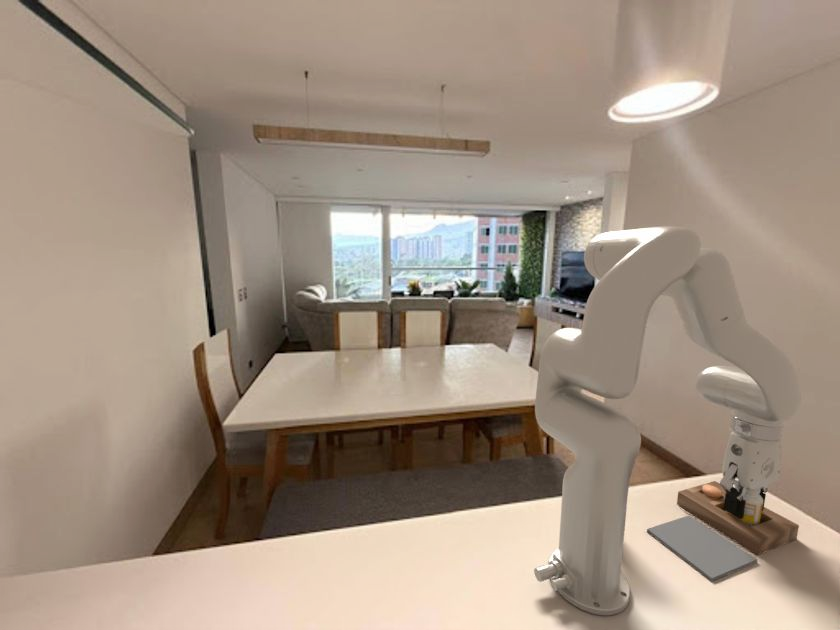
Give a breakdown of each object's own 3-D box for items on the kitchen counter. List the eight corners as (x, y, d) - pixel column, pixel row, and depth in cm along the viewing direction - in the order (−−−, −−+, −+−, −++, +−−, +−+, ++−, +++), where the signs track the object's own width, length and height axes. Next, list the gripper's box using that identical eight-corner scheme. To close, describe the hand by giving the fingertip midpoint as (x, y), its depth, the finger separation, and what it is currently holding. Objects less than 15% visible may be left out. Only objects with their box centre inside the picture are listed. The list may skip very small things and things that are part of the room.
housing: (757, 555, 66) (759, 540, 66) (676, 503, 80) (678, 491, 80) (796, 538, 70) (798, 525, 70) (713, 492, 84) (714, 480, 84)
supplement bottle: (741, 535, 71) (748, 491, 70) (717, 516, 76) (722, 475, 75) (766, 533, 72) (773, 489, 70) (740, 515, 77) (746, 473, 75)
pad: (711, 581, 61) (711, 578, 61) (646, 531, 72) (647, 528, 72) (756, 562, 65) (757, 559, 65) (688, 517, 76) (689, 515, 76)
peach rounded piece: (712, 512, 78) (714, 495, 77) (697, 502, 81) (699, 486, 80) (722, 508, 79) (724, 492, 78) (706, 499, 82) (709, 483, 81)
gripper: (749, 443, 64) (736, 533, 67) (806, 429, 70) (792, 513, 73) (705, 425, 72) (694, 508, 74) (760, 413, 77) (748, 490, 80)
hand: (743, 509), depth 73 cm, fingers closed on supplement bottle, 5 cm apart
